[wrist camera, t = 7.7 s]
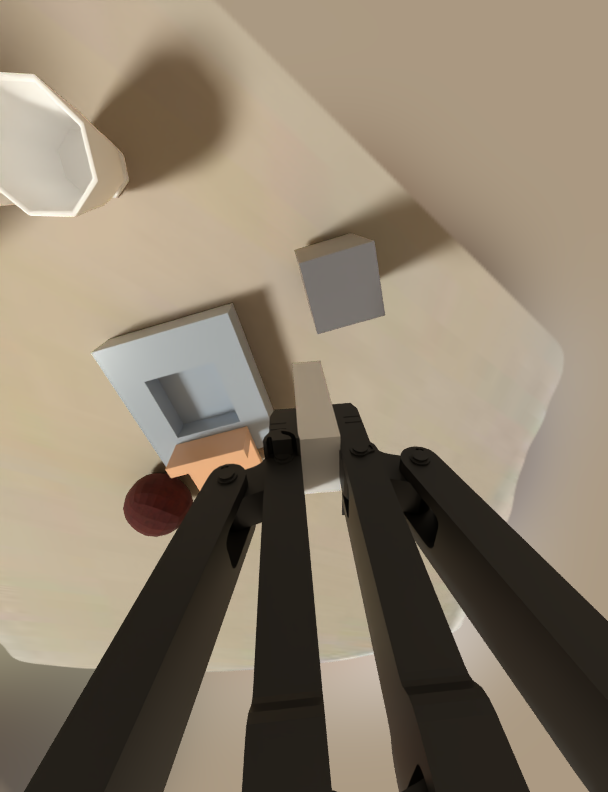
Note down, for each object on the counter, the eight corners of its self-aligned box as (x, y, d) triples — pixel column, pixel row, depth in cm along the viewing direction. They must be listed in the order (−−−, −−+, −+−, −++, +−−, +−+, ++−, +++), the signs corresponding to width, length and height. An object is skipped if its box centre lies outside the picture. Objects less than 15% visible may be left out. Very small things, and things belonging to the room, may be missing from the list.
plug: (294, 248, 29) (299, 263, 21) (348, 232, 29) (374, 240, 21) (308, 302, 31) (317, 334, 23) (358, 288, 31) (384, 315, 23)
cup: (164, 197, 26) (123, 192, 19) (62, 246, 28) (-11, 258, 21) (108, 89, 23) (34, 37, 16) (-5, 150, 24) (-120, 127, 17)
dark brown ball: (149, 452, 39) (125, 497, 33) (208, 476, 42) (196, 521, 36) (128, 490, 42) (103, 537, 36) (185, 510, 45) (169, 557, 39)
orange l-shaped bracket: (176, 444, 35) (165, 469, 31) (247, 426, 34) (243, 449, 31) (206, 495, 38) (199, 521, 35) (270, 479, 38) (269, 504, 35)
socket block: (108, 339, 32) (90, 352, 29) (232, 302, 31) (227, 312, 28) (177, 451, 39) (169, 471, 36) (279, 424, 38) (279, 443, 35)
